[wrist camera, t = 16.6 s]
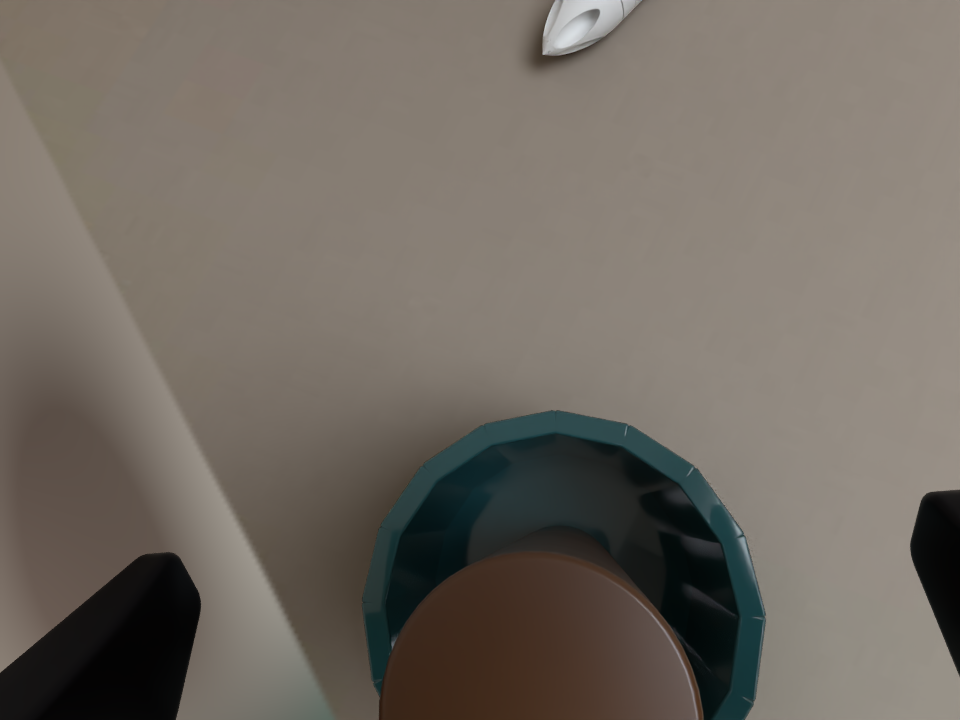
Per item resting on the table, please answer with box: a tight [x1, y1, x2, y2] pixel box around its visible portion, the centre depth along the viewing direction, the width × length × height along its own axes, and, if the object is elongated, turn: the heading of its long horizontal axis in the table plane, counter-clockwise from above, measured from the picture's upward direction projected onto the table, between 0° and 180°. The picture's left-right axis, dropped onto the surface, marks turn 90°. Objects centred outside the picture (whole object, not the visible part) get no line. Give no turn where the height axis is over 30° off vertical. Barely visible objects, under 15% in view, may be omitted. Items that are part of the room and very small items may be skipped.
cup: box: [362, 410, 766, 720], centre depth 17 cm, size 8×8×6 cm
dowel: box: [379, 526, 704, 720], centre depth 13 cm, size 3×3×13 cm
